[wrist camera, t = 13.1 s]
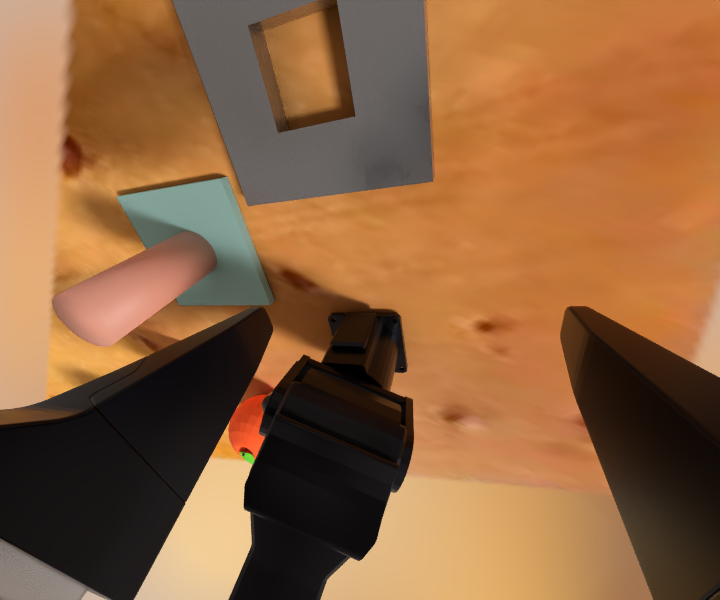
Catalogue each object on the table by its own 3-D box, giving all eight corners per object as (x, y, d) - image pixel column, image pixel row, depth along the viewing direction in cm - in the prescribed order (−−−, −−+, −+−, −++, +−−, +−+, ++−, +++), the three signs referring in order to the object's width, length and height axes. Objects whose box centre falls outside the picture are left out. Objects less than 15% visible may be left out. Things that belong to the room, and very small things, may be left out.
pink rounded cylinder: (224, 271, 26) (127, 346, 18) (189, 274, 28) (84, 346, 20) (203, 228, 24) (84, 291, 16) (166, 233, 26) (38, 295, 18)
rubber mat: (274, 300, 28) (270, 305, 27) (185, 301, 31) (179, 305, 31) (227, 176, 22) (220, 178, 22) (124, 194, 26) (115, 196, 25)
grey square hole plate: (434, 176, 19) (432, 181, 17) (259, 200, 23) (247, 206, 21) (418, -166, 12) (413, -196, 11) (174, -44, 16) (151, -56, 15)
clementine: (311, 426, 38) (286, 484, 32) (267, 422, 41) (235, 475, 35) (289, 382, 34) (256, 439, 29) (241, 381, 37) (202, 432, 31)
